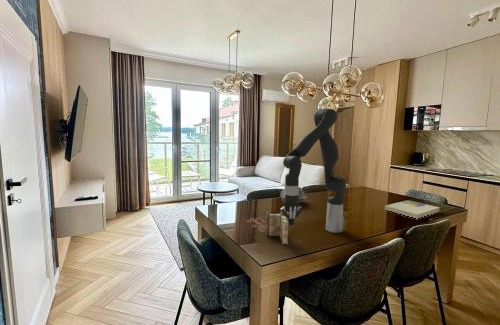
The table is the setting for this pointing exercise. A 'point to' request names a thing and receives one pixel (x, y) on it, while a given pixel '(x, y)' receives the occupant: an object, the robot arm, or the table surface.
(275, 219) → the fixed leg
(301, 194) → the toy elephant
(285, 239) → the gate panel
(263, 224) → the decorative fence
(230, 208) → the table surface
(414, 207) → the puzzle box
